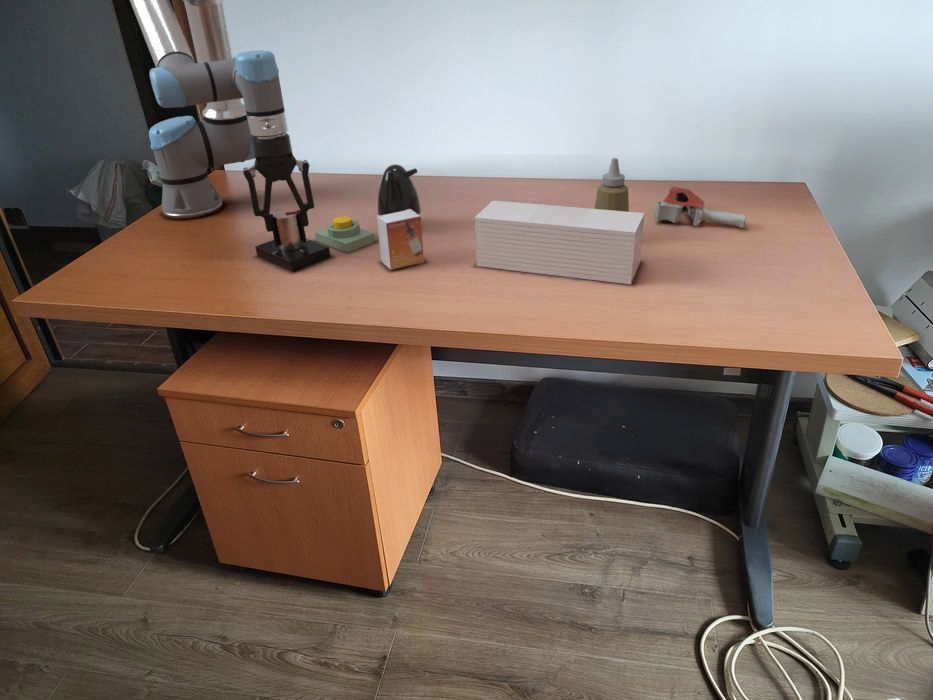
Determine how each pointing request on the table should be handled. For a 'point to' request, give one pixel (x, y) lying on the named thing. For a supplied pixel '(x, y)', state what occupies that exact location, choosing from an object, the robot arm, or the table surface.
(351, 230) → the button box
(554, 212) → the white ridged block
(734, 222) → the tape dispenser
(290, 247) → the dial
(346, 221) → the button
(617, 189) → the squeeze bottle
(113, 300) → the table surface
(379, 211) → the pump dispenser
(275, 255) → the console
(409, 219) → the small box
